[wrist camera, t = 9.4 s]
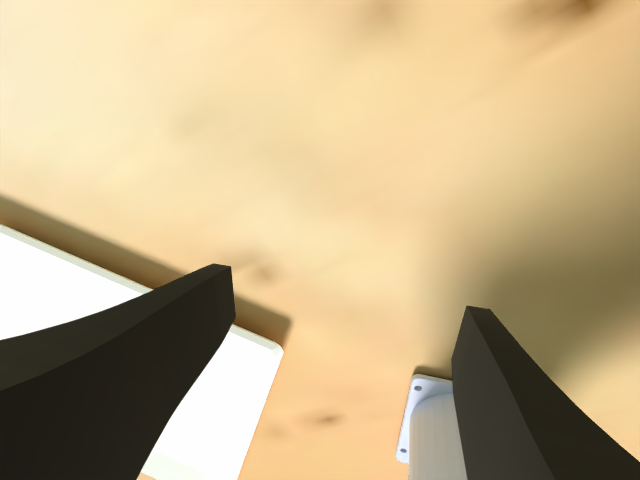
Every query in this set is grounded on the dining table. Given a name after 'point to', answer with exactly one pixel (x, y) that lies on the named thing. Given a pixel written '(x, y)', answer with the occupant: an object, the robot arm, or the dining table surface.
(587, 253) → the dining table surface
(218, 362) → the plate
